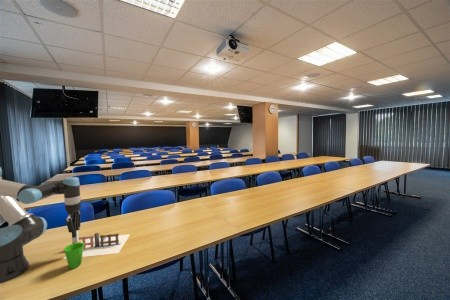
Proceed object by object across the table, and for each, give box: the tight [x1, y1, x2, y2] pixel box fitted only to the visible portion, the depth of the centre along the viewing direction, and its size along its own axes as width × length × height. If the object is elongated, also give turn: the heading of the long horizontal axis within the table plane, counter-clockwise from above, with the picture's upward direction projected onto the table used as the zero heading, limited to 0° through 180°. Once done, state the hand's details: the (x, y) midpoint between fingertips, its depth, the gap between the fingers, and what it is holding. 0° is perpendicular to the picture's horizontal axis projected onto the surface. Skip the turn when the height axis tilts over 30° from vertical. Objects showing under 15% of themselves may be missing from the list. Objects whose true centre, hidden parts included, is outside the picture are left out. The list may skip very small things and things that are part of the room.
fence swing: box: [71, 235, 95, 248], centre depth 124 cm, size 2×12×8 cm, turn 101°
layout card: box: [62, 233, 131, 260], centre depth 127 cm, size 25×30×1 cm
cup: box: [63, 241, 84, 270], centre depth 106 cm, size 9×9×11 cm
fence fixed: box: [93, 232, 120, 247], centre depth 127 cm, size 2×14×8 cm, turn 100°
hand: (75, 241), depth 117 cm, fingers closed
